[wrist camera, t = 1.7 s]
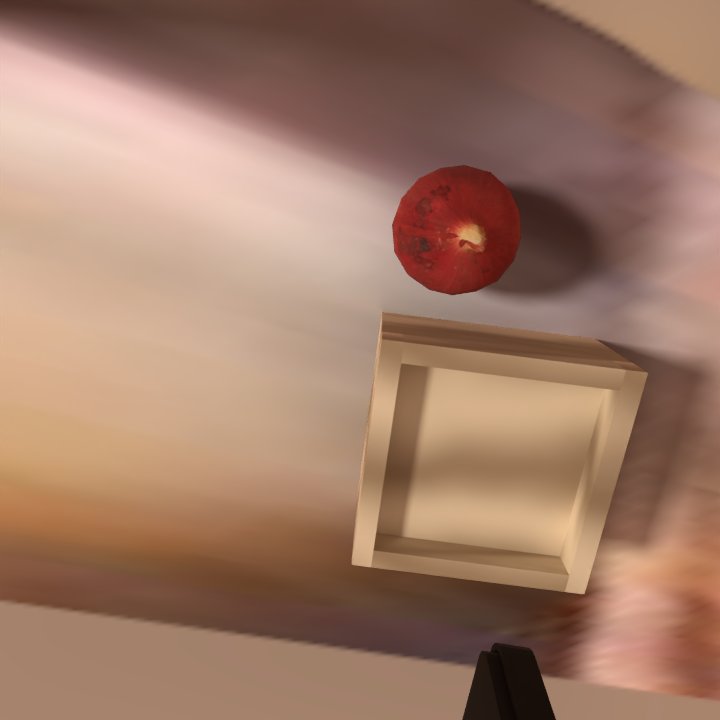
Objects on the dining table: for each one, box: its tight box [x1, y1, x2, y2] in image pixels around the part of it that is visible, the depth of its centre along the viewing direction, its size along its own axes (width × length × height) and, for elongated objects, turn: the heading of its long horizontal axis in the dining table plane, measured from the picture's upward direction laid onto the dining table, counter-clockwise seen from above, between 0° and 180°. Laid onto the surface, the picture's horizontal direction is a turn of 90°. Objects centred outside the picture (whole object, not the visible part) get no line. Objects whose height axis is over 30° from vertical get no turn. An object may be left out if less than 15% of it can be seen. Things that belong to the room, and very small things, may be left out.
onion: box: [392, 165, 521, 295], centre depth 24 cm, size 6×6×8 cm
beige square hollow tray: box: [352, 312, 648, 594], centre depth 29 cm, size 12×12×6 cm
